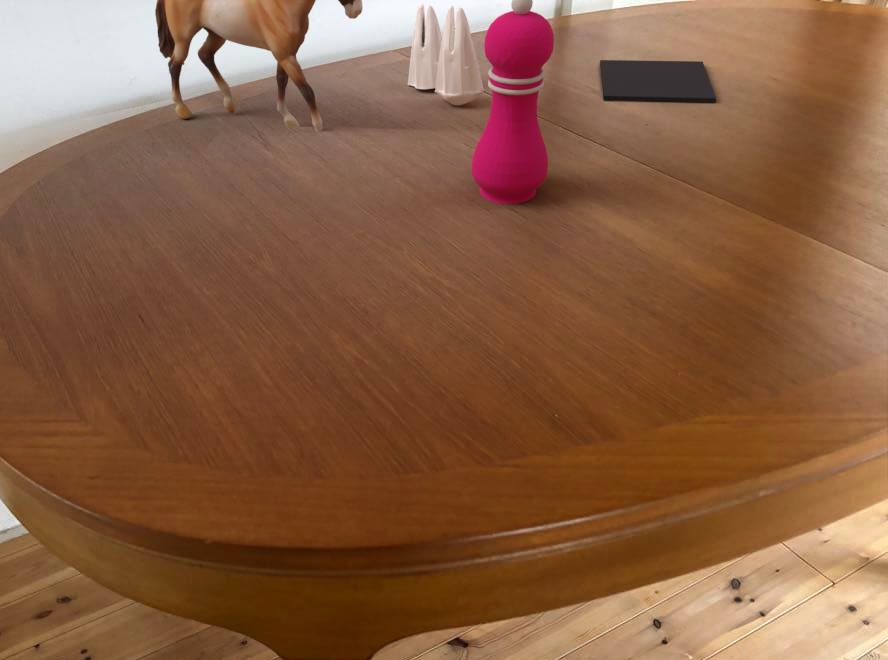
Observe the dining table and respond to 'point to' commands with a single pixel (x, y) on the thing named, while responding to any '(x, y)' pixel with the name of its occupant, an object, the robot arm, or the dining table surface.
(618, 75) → the placemat
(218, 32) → the horse figurine
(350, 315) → the dining table surface
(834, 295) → the dining table surface
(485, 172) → the pepper mill
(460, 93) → the shaker set
